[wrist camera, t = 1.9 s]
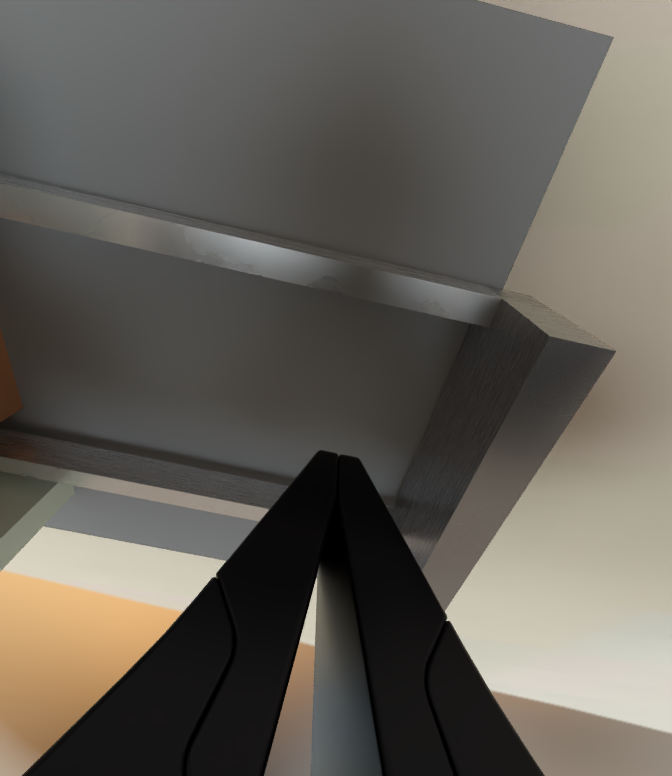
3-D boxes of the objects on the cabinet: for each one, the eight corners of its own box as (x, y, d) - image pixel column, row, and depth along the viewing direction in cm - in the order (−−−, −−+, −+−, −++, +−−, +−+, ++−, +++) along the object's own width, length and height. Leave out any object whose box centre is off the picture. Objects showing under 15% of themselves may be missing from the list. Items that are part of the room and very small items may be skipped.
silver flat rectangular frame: (529, 295, 8) (615, 351, 5) (418, 525, 11) (435, 625, 9) (-331, 96, 7) (-756, 40, 4) (-149, 413, 11) (-315, 486, 8)
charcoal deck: (546, 77, 8) (613, 37, 6) (369, 533, 16) (370, 587, 14) (-730, -255, 7) (-1240, -463, 5) (-239, 414, 15) (-343, 453, 13)
